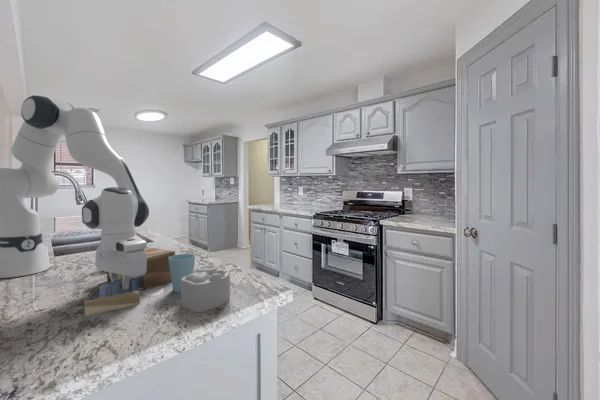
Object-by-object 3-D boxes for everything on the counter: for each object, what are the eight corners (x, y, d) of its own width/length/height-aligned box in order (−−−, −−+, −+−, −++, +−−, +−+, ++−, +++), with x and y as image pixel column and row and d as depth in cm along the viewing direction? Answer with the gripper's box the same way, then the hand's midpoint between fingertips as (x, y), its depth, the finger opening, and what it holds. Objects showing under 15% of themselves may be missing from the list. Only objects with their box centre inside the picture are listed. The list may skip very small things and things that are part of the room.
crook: (87, 293, 86) (86, 281, 85) (147, 276, 103) (147, 266, 103) (107, 300, 81) (106, 287, 81) (167, 280, 98) (167, 270, 98)
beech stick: (84, 313, 73) (84, 301, 73) (137, 301, 81) (137, 290, 81) (85, 317, 71) (85, 304, 71) (139, 304, 79) (139, 293, 79)
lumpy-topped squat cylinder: (176, 304, 78) (176, 273, 78) (216, 290, 89) (216, 263, 88) (198, 314, 72) (198, 280, 72) (238, 298, 82) (238, 268, 82)
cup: (175, 285, 93) (174, 253, 93) (199, 285, 93) (198, 253, 93) (164, 294, 86) (163, 259, 85) (190, 294, 86) (189, 259, 85)
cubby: (107, 280, 98) (106, 251, 98) (139, 272, 108) (138, 245, 108) (144, 290, 89) (143, 258, 88) (175, 279, 99) (175, 251, 99)
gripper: (88, 240, 88) (89, 285, 88) (129, 247, 78) (130, 296, 79) (110, 237, 93) (111, 279, 94) (150, 243, 84) (151, 289, 84)
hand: (120, 287), depth 86 cm, fingers closed on crook, 3 cm apart
